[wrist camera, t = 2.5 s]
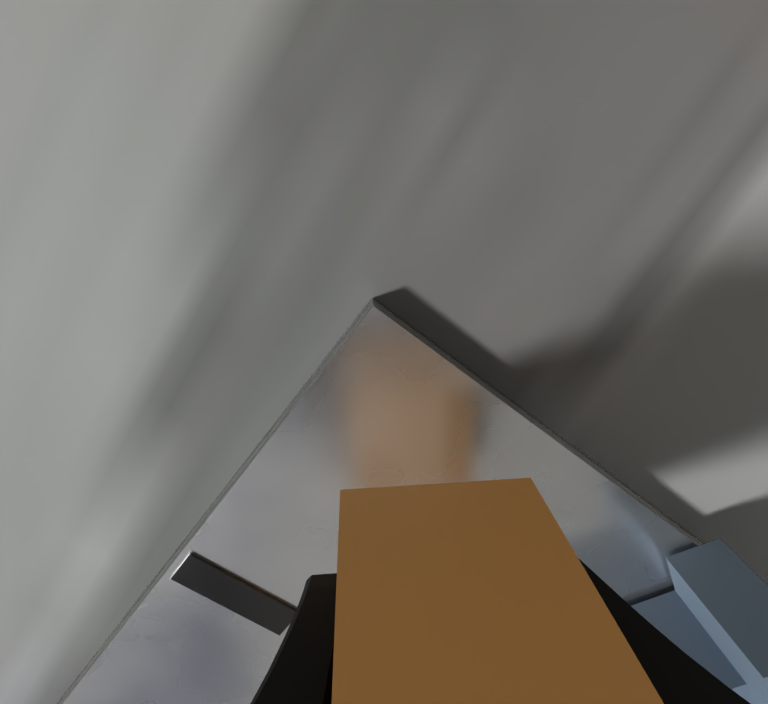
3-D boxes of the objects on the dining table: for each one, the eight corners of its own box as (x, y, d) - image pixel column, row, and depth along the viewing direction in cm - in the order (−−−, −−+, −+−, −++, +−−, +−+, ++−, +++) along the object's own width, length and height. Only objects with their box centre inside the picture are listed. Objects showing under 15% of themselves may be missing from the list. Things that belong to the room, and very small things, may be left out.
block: (521, 625, 12) (627, 907, 8) (351, 638, 12) (350, 933, 7) (530, 477, 11) (664, 703, 6) (340, 489, 11) (330, 732, 6)
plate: (454, 898, 22) (458, 928, 21) (38, 727, 17) (22, 756, 16) (800, 616, 18) (823, 638, 17) (372, 298, 13) (373, 307, 12)
